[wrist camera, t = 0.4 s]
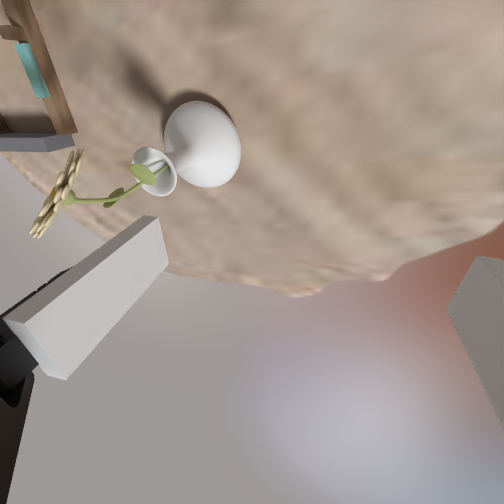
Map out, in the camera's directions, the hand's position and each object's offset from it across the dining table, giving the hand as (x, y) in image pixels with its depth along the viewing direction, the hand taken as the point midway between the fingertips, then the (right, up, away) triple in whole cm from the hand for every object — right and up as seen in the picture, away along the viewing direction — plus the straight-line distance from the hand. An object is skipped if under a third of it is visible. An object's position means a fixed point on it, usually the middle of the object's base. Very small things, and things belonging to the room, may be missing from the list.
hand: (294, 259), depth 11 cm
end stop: (-38, +20, +33) cm, 54 cm away
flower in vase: (-9, +16, +27) cm, 32 cm away
